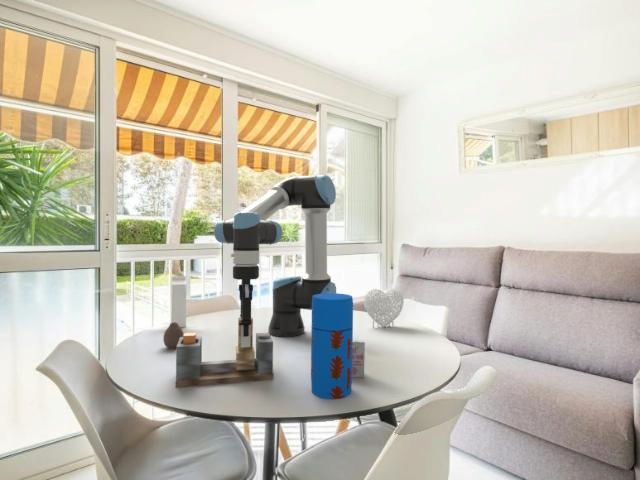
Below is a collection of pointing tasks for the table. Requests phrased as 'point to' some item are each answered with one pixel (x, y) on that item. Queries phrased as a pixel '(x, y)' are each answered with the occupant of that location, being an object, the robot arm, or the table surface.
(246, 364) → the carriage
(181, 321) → the milk
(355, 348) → the white printed box
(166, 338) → the vase
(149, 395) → the table surface
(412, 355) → the table surface
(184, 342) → the button
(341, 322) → the thermos
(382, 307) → the decorative heart
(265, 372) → the rail track
